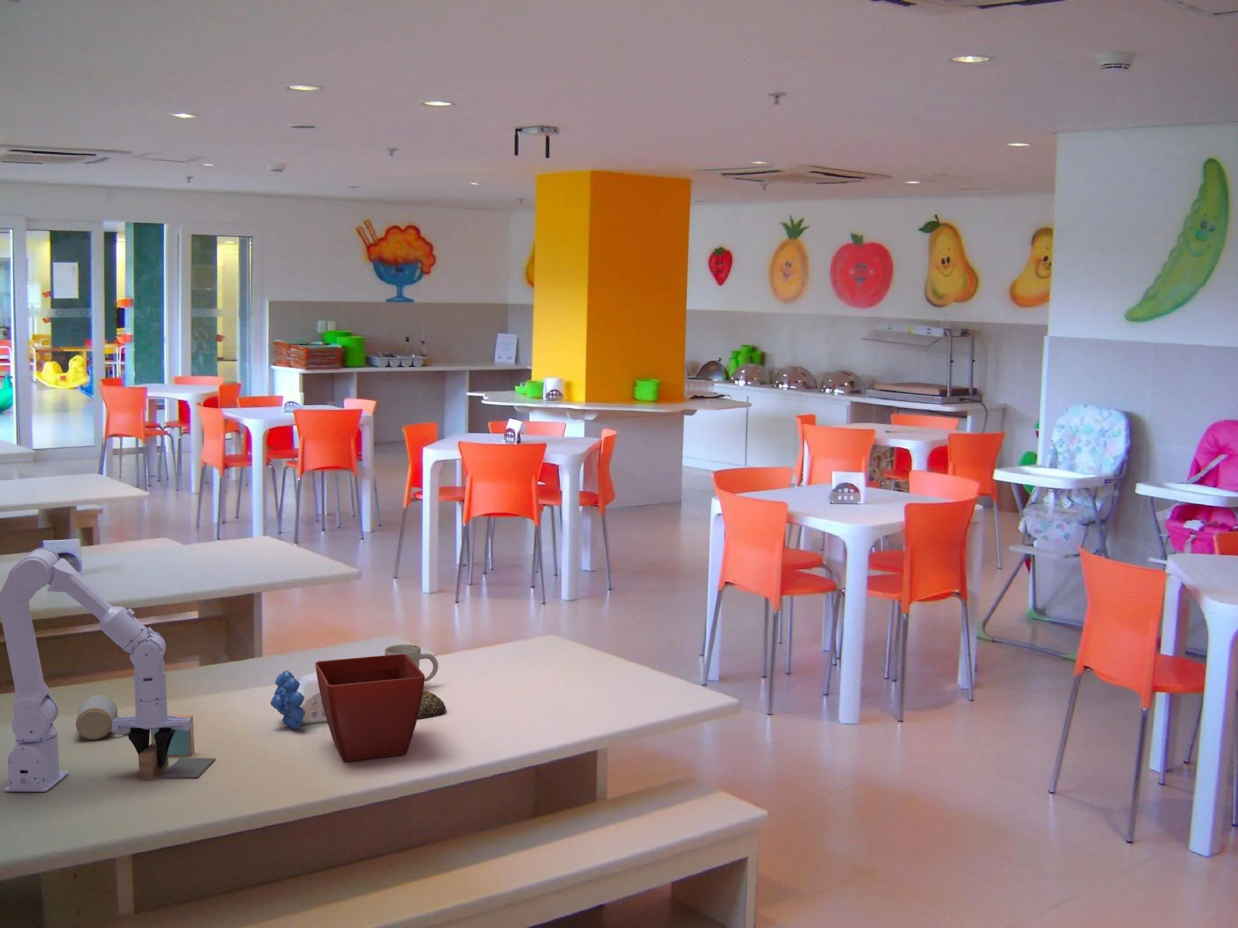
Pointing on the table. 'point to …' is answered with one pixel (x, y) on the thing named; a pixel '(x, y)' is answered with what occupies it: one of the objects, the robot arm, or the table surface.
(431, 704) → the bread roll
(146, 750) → the bronze rectangular prism
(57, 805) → the table surface
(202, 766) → the mat
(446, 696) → the table surface
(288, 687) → the grapes
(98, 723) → the ceramic mug
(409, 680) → the plant pot
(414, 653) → the mug
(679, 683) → the table surface
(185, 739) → the picture frame
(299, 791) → the table surface
